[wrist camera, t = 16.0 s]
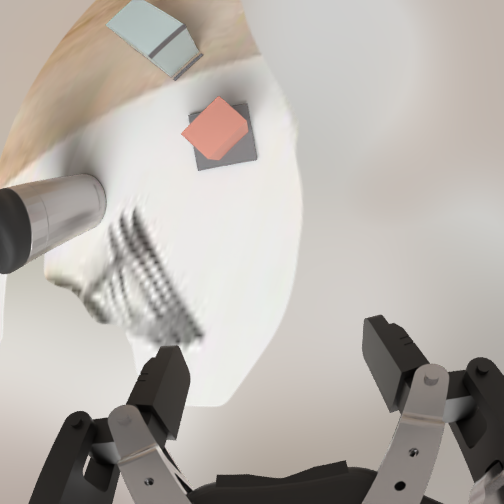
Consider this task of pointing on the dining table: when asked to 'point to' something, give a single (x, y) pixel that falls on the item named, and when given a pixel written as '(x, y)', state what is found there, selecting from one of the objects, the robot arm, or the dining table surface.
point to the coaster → (238, 152)
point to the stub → (216, 129)
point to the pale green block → (155, 36)
